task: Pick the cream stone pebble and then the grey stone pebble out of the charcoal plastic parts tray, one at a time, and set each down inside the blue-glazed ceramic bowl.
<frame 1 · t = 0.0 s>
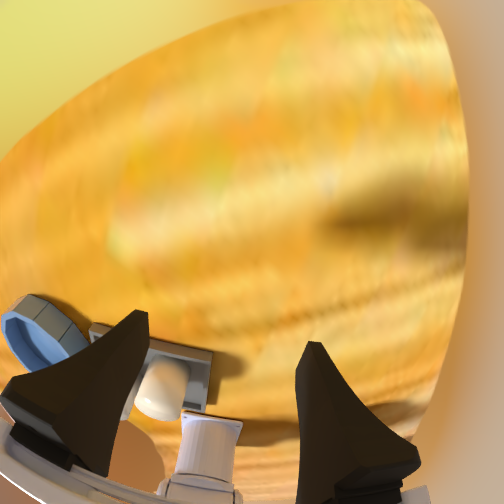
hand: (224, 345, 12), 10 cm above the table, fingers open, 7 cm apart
pebble a: (170, 367, 27), resting on tray
tray: (152, 369, 28), on the table
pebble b: (125, 372, 28), resting on tray
bowl: (52, 340, 28), on the table
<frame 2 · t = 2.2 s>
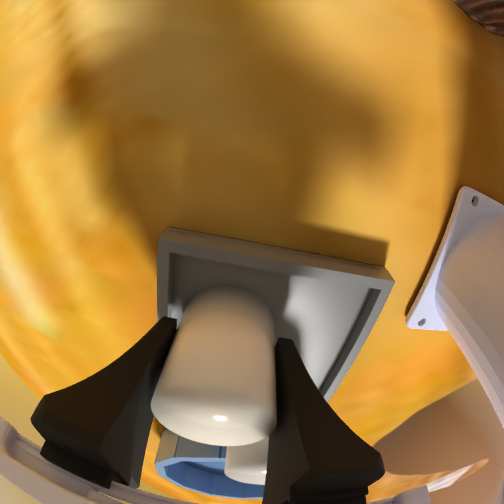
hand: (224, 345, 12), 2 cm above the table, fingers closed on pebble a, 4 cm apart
pebble a: (228, 323, 13), resting on tray, touching gripper
tray: (254, 353, 15), on the table
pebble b: (268, 396, 16), resting on tray
bowl: (236, 452, 21), on the table
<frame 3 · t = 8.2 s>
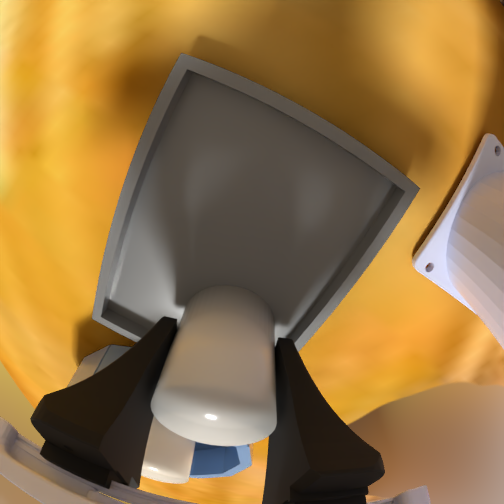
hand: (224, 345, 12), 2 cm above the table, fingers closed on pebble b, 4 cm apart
pebble a: (170, 401, 16), point 1 cm above the table, touching bowl
tray: (230, 251, 12), on the table
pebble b: (228, 323, 13), resting on tray, touching gripper
bowl: (163, 408, 18), on the table
when the fingers open (4 cm above the table, at t = 11.6 s): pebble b drops 2 cm, resting on bowl.
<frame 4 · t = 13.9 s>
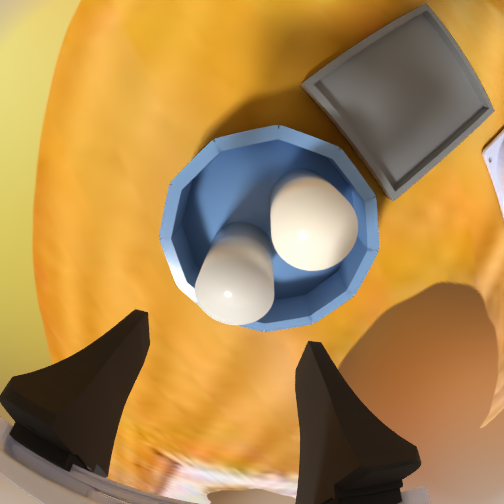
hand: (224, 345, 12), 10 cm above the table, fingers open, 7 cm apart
pebble a: (302, 201, 19), point 1 cm above the table, touching bowl
tray: (410, 93, 15), on the table
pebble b: (241, 251, 20), point 1 cm above the table, touching bowl
bowl: (270, 223, 20), on the table
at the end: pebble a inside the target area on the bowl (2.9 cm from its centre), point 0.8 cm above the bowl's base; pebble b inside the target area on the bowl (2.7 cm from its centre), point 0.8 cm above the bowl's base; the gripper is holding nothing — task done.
